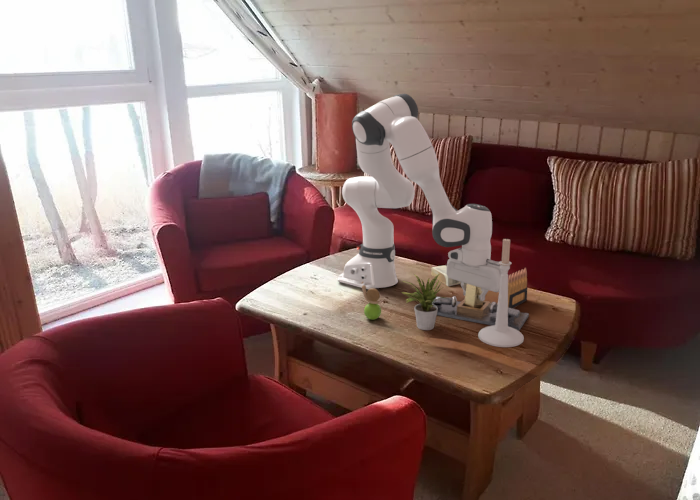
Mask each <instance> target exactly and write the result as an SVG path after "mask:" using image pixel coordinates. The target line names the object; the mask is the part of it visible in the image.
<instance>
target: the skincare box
mask: <svg viewBox="0 0 700 500" xmlns="http://www.w3.org/2000/svg"><path fill="white" fill-rule="evenodd" d="M430 271H431V273H430V275H431V276H432V277H433V278H435V276H437V275H438V274H440V275H439V276H438V278H437V281H438V280H439V279H440V280H439V282H440V283H441V282H442V283H443V284H444V285H446V286H447V287H451V286H456V285H461V282H460V281H457V280H453V279H450V278H448V276H447V273H446V271H447V264H445V265H438V266H434V267H431V270H430ZM442 283H441V284H442Z"/></svg>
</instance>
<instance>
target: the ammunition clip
mask: <svg viewBox="0 0 700 500" xmlns="http://www.w3.org/2000/svg"><path fill="white" fill-rule="evenodd" d="M527 277H528V272H527V267H524V269H523V268H521V270H520V269H519V270H518V271H517V270H516V272H513V273H510V274H509V275H508V308H512V309H516V307H518V306H520V305H521V304H524V303H525V302H527V300H528V287H527V286H528V278H527Z"/></svg>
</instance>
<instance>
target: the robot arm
mask: <svg viewBox="0 0 700 500" xmlns="http://www.w3.org/2000/svg"><path fill="white" fill-rule="evenodd" d="M418 118H419V107H418V104H417V103H416V100H415V99H414V98H413V97H412V96H411V95H409V94H407V93H399V94H398V93H397V94H395V95H393V96H391V97H389V98H385V99H383V100H380V101H378V102H377V103H375V104H374V105H371V106H369V107H368V108H367V109H365V110H361V111H360V112H358V113H357V114H356V115H355V116H354V117H353V118H352V121H351V130H352V132H353V135H354V137H355V144H356V145H355V146H356V154H357V161H358V162H357V163H358V166H359V168H360V169H361V171H362V172H363V173H364V174H366V175H367V176H366V175H364V176H363V175H360V176H355V177H348V178H347V179H346V180H345V181H344V183H343V186H342V188H341V189H342V190H341V193H342V194H341V195H342V198H343V200H344V202H345V203H346V204H347V205H348V206H349V207H351V208H352V209H353V210H354V212H355V213H356V214H357V216H358V218H359V220H360V223H361V227H362V228H361V229H362V230H361V231H362V243H361V244H360V245H358V246H356V251H358V253H357V254H356V255H355V256H353V257H352V258H350V260H348V261H347V262H346V263H345V265H344V267H343V272H342V273H340V274H339V275H338V276H337V282H340V283H343V284H345V285H350V286H354V287H358V288H361V289H362V286H363V285H365V286H366V290H369V289H370V288H375V289H379V288H381V289H382V288H389V287H392V286H394V285H396V284H398V282H399V280H398V277H397V272H396V265H395V259H396V257H395V256H396V250H395V249H396V248H395V247H396V246H395V243H394V236H395V235H394V228H395V227H394V223H393V222H392V221H391V220H390V219H389V218H388V217H386V216H384V215H382V214H381V213H380V212H379V210H378V208H379V209H381V208H382V209H400V208H405V207H409V206H410V205H411V204H412V203H413V200H414V198H415V195H416V194H415V193H416V191H415V187H414V184H413V183H415V184H416V185H418V187H420V189H421V190H422V192H423V193H424V196H425V198H426V200H427V203H428V205H429V207H430V210H431V212H432V230H431V234H432V238H433V240H434V242H435V243H437V245H438V246H441V247H445V248H453V247H459V246H460V247H459V248H456V249H453V250H450V251H449V252H448V253H447V254H448V255H447V256H448V258H449V259H447V263H446V266H447V271H446V273H447V276H448V278H450V279H453V280H457V281H460V282H461V284H460V286H461V288H462V290H463V291H462V292H463V293H462V295H463V296H465V295H466V286H467V284H470V285H473V286H477V287H480V288H481V291H483V292H482V293H481V294H479V295H478V300H480V301H486V295H487V293H488V292H489V291H491V292H494V293H499V288H500V279H501V274H502V271H501V269H500V266H501V265H500V264H499V262H500V261H495V260H492V259H491V255H492V254H491V252H492V245H491V238H492V234H493V221H492V220H493V218H492V217H493V216H492V213H491V211H490V209H489V208H488V207H486V206H485V205H481V204H477V203H467V204H466V205H464V207H462V208H459V210H458V209H457V208H455V206H453V204H452V203H451V202H450V199H449V197H448V195H447V192H446V190H445V188H444V186H443V183H442V181H441V177H440V167H439V162H438V158H437V154H436V151H435V148H434V146H433V143H432V141H431V139H430V137H429V135H428V133H427V131H426V130H425V128H424V126H423V125H422V123H421V121H419V119H418ZM390 145H391V146H392V147H393V150H394V153H395V155H396V157H397V160H398V162H399V165H400V167H401V169H402V170H403V172H404V174H405V175H406V176H404V175H402V173H401V172H399V171H398V170H397V168H396V167H395V165H394V163H393V160H392V153H391V146H390ZM406 177H407V178H406ZM412 182H413V183H412ZM361 282H364V283H363V284H362V283H361Z"/></svg>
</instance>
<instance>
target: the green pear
mask: <svg viewBox="0 0 700 500" xmlns="http://www.w3.org/2000/svg"><path fill="white" fill-rule="evenodd" d="M361 283H362V284H363V283H364V282H361ZM361 289H362V290H361V291H362V294H363V297H364V300H365V301H366V302H368V303H367V304H366V305H365V307H364V309H363V313H364V316H365V317H366V318H367V319H369V320H372V321H373V320H377V319H379V317H380V316H381V315H382V308H381V305H379V303H380V301H381V300H379V299H380V297H381V295H380V294H381V293H380V291H379V290H378V288H370V289H366V286H365V285H363V286H362V288H361Z"/></svg>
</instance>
